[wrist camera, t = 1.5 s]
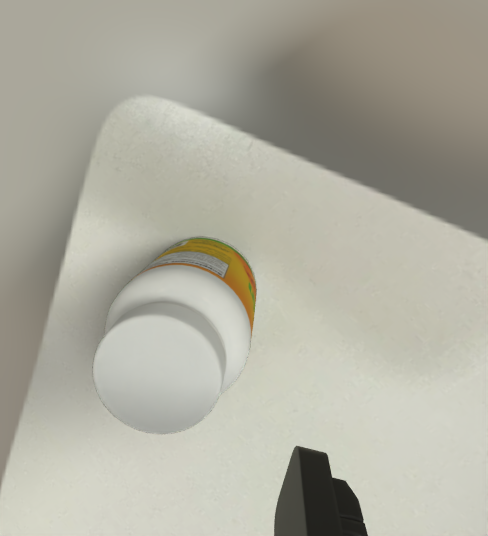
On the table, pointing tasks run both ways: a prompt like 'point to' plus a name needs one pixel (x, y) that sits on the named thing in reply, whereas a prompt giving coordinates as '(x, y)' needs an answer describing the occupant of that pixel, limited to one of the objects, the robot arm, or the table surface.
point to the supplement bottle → (177, 337)
